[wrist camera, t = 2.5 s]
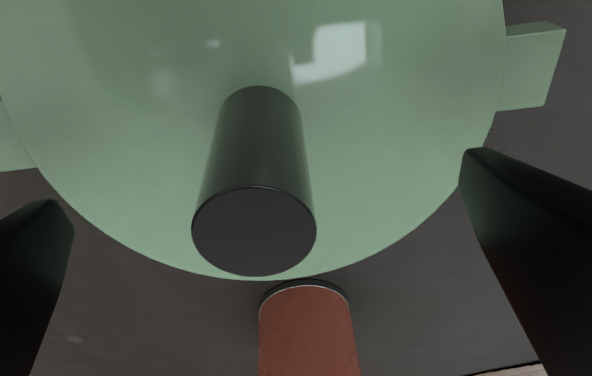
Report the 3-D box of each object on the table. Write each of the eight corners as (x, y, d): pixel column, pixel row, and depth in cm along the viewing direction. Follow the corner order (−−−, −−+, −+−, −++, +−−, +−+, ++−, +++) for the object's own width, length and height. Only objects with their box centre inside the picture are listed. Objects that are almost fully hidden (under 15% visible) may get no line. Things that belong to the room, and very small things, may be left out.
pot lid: (-123, -155, 8) (-638, -223, 3) (548, -253, 8) (951, -470, 3) (126, 277, 16) (70, 423, 12) (453, 239, 16) (524, 375, 11)
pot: (-63, -108, 12) (-235, -111, 8) (533, -193, 11) (676, -241, 7) (105, 206, 19) (62, 287, 15) (465, 163, 19) (517, 235, 15)
